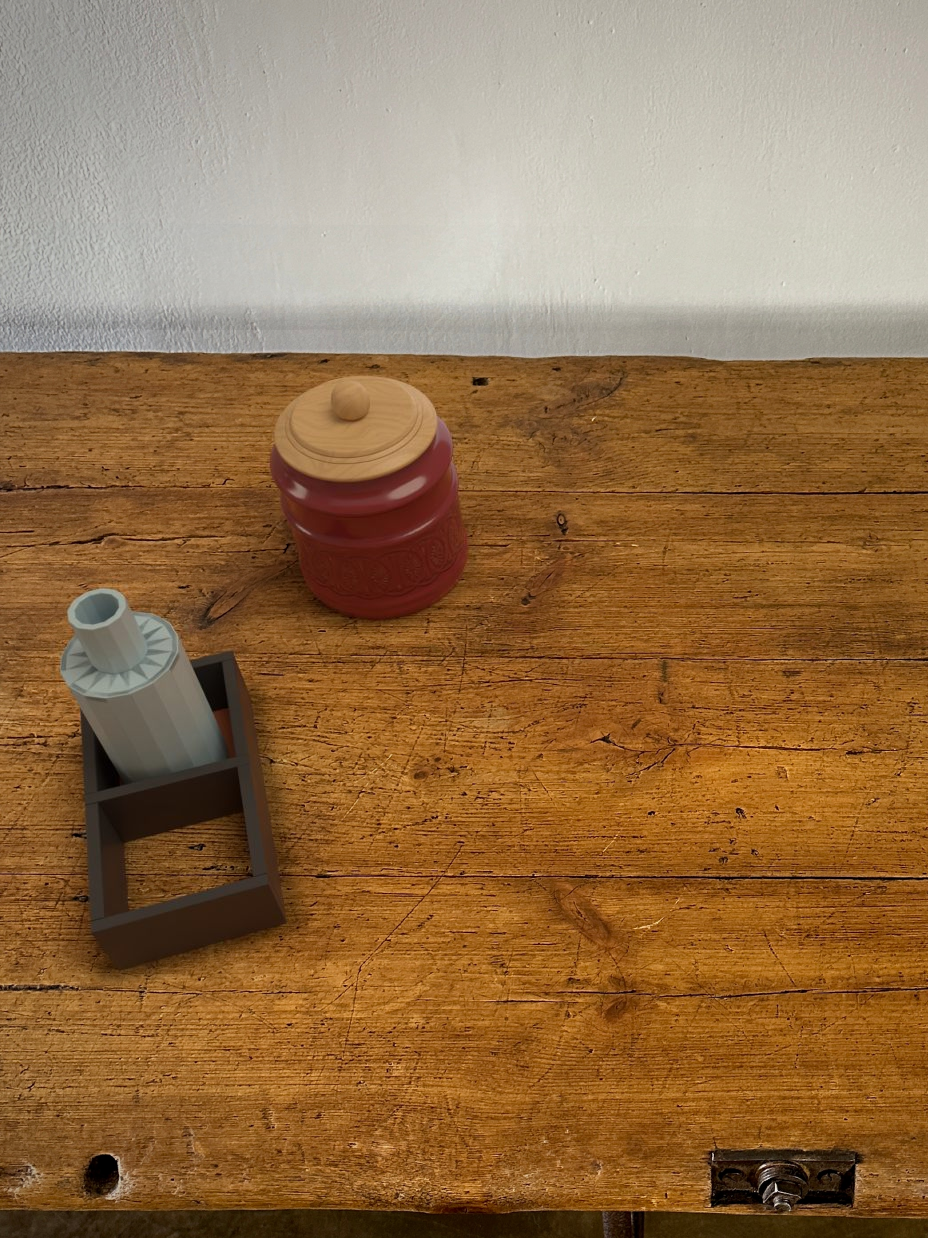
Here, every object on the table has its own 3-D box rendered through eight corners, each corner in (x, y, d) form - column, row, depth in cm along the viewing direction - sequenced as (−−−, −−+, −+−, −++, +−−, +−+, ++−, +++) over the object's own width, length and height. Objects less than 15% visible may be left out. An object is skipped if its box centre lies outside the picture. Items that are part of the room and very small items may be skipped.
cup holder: (107, 735, 85) (78, 685, 81) (252, 700, 87) (232, 649, 83) (123, 976, 73) (90, 933, 69) (289, 928, 76) (268, 883, 71)
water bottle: (108, 802, 80) (12, 645, 68) (150, 722, 85) (67, 560, 72) (207, 815, 80) (128, 659, 68) (244, 734, 84) (176, 573, 72)
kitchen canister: (272, 600, 93) (209, 418, 80) (358, 495, 101) (314, 312, 87) (422, 647, 91) (384, 467, 77) (498, 535, 98) (475, 353, 85)
